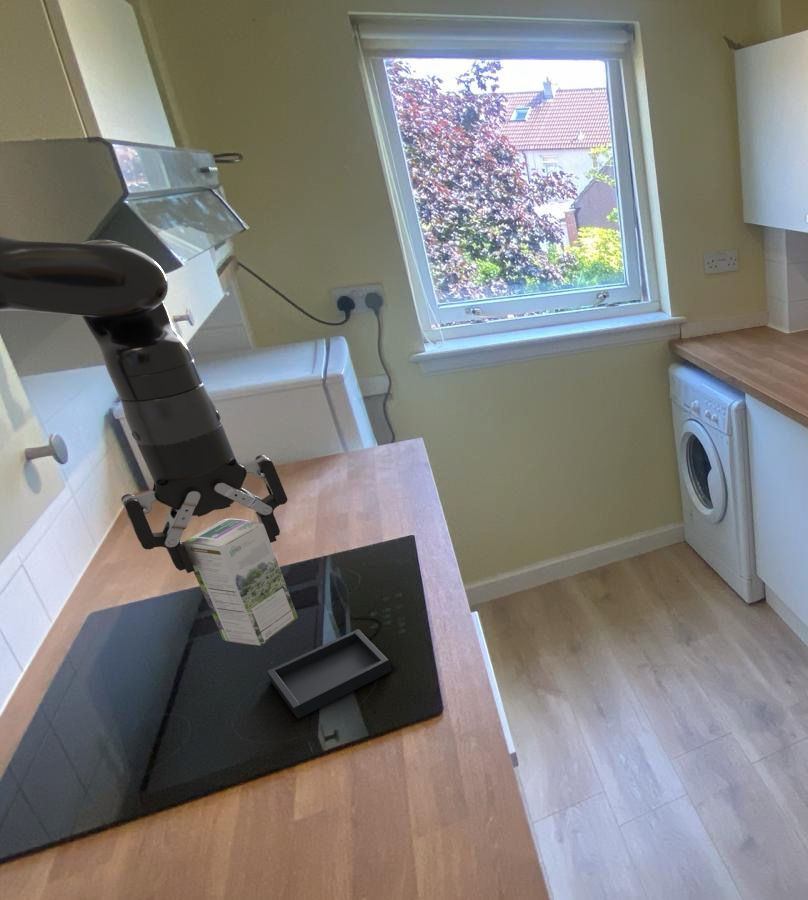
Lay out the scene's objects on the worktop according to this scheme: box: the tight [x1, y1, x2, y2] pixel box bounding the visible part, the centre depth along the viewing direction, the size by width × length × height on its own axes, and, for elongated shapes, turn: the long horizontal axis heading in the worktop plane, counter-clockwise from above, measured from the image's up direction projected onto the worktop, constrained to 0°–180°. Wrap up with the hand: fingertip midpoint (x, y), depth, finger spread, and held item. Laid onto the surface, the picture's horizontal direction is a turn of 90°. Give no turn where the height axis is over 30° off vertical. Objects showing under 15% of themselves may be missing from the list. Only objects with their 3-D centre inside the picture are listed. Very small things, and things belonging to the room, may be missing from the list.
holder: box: [266, 628, 393, 720], centre depth 109 cm, size 13×12×2 cm
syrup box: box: [181, 518, 298, 647], centre depth 89 cm, size 6×6×14 cm
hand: (231, 554), depth 87 cm, fingers closed on syrup box, 7 cm apart
